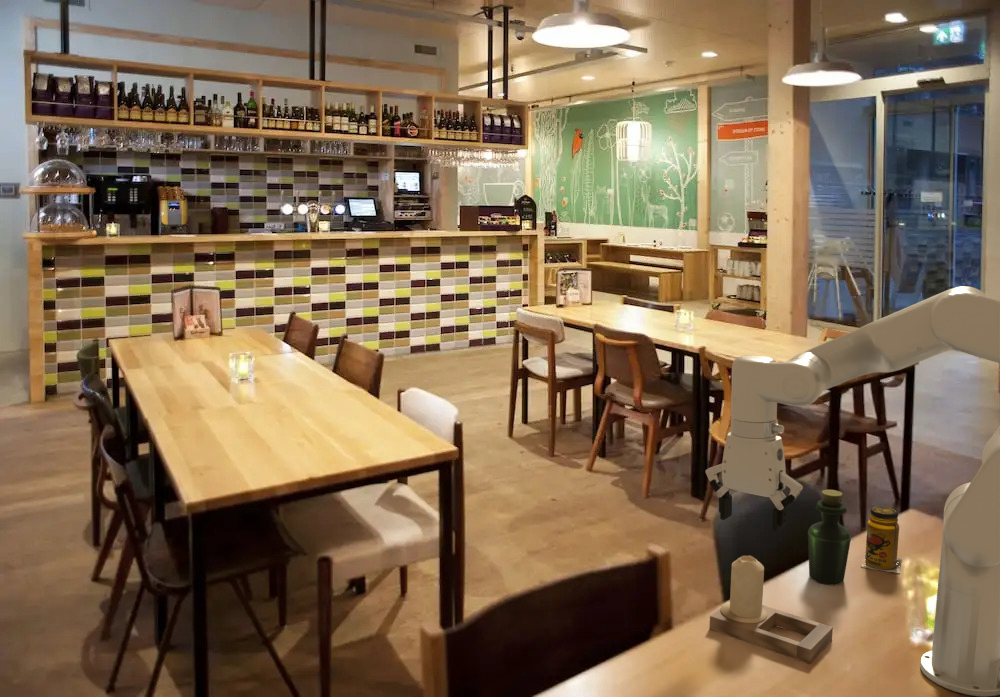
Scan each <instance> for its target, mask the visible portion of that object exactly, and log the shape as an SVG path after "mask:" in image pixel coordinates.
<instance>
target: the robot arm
mask: <svg viewBox="0 0 1000 697" xmlns="http://www.w3.org/2000/svg"><path fill="white" fill-rule="evenodd" d="M952 350H956V351H959V352H962V353H965V354H966V355H967V354H968V355H970V356H974V357H977V358H980V359H983V360H986V361H991V362H994V363H998V364H1000V300H998V299H995V298H992V297H989V296H987V295H986V294H985V292H983V291H982V290H980V289H978V288H976V287H972V286H969V285H968V286H964V285H963V286H956V287H953V288H950V289H947V290H944V291H942V292H939V293H938V294H935V295H932V296H930V297H928V298H926V299H923V300H921V301H919V302H916V303H914V304H912V305H909V306H907V307H905V308H902V309H900V310H898V311H895V312H893V313H890V314H889V315H887V316H884V317H881V318H879V319H876V320H874V321H872V322H869V323H866V324H865V325H863V326H860V327H859V328H857V329H855V330H853V331H851V332H848V333H846V334H842V335H840V336H838V337H836V338H833V339H831V340H829V341H826V342H824V343H821V344H820V345H819V344H818V345H817V346H814V347H812V348H810V349H808V350H805V351H803V352H800V353H798V354H797V355H794V356H793V357H792V358H791V359H789V360H786V361H785V362H784V361H783V362H782V361H781V362H779V361H778V362H777V361H776V360H775V359H774V358H772V357H770V356H764V355H742V356H741V355H740V356H739V357H737V358H735V359H734V360H733V362H732V364H731V392H730V393H731V398H730V399H731V400H730V401H731V404H730V406H731V407H730V409H731V410H730V413H731V414H730V432H728V433H727V435H726V439H725V444H724V449H723V455H722V463H720V464H716V465H714V466H711V467H708V468H707V469H705V474H706V477H707V478H708V481H709V486H711V488H712V489H713V490H714V492H715V496H716V497H717V498H718V513H719V516H720V520H721V521H724V520H727V519H728V518H730V517H732V514H733V495H732V493H730V492H731V491H736V492H741V493H745V494H751V495H755V496H760V497H765V498H766V497H767V498H769V499H770V500H771V502H772V503H773V504H774V506H775V508H774V509H772V531H773V532H774V533H778V532H780V531H781V530H782V529H784V527H786V524H787V508H788V506H790V505H791V504H792V503H793V502H795V501H796V500H797V499H798V497H799V496H800V494H801V492H802V491H803V489H804V486H803V485H802V484H801V483H800V482H798V481H797V480H796V479H794V478H793V477H791V476H789V475H788V474H787V472H786V470H787V469H786V458H785V450H784V444H783V439H782V437H781V436H780V435H778V434H784V433H785V425H782V424H779V420H778V419H777V414H778V413H777V412H778V404H782V405H787V406H790V407H791V406H792V407H806V406H809V405H811V404H813V403H814V402H816V401H818V398H820V396H821V395H822V393H823V392H824V391H826V390H829V389H831V388H834V387H836V386H838V385H841V384H843V383H845V382H849V381H851V380H854V379H856V378H859V377H863V376H865V375H869V374H875V373H892V372H896V371H900V370H903V369H905V368H908V367H910V366H912V365H916V364H918V363H920V362H922V361H925V360H928V359H930V358H933V357H935V356H938V355H940V354H943V353H945V352H948V351H952ZM982 450H983V451H982V457H981V461H982V462H981V465H980V467H979V469H978V471H977V473H976V474H975V475H974V477H973V478H972V480H971V481H970V482H966V483H964V484H961V485H959V486H957V487H956V488H955V489H954V490H952V492H951V493H950V494H949V496H948V497H947V498H946V501H945V504H944V508H943V519H942V520H943V522H942V525H943V527H942V538H941V540H942V541H941V552H940V561H939V562H940V563H939V572H938V581H937V594H936V601H935V602H936V604H935V612H934V614H935V616H934V625H933V634H932V636H933V637H932V647H931V650H929V651H927V652H925V653H924V654H922V656H921V657H920V661H919V665H920V666H919V668H920V669H921V671H922V673H923V675H925V676H926V677H927V678H928V679H929V680H931V681H932V682H934V683H935V684H937V685H939V686H940V687H942V688H945V689H947V690H949V691H952V692H955V693H960V694H962V695H968V696H974V697H996V696H999V695H1000V425H998V427H997V429H996V430H995V432H994V433H993V434H992V436H991V437H990V438H989V439H988V441H987V442H986V444H985V445H984V448H983V449H982ZM719 473H721V480H720V479H719V477H718V474H719ZM786 487H787V488H789V490H790V491H789V494H788V495H787V496H786V494H785V493H784V492H783V491H784V490H785V489H786Z"/></svg>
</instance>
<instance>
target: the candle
mask: <svg viewBox="0 0 1000 697" xmlns="http://www.w3.org/2000/svg"><path fill="white" fill-rule="evenodd" d="M730 572H731V573H730V574H731V575H730V591H729V592H730V595H729V601H730V611H731V613H733V614H734V615H736V616H739V617H742V618H757V617H759V616H760V615H761V613H762V605H763V595H764V580H765V579H764V578H765V577H764V576H765V567H764V565H763V564H762V563H761V562H760V561H758V559H757V558H755V557H754V556H753V555H742V556H740V557H738V558H737V559H736V560H734V561H733V562H732V563H731V571H730Z"/></svg>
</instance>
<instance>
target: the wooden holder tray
mask: <svg viewBox="0 0 1000 697" xmlns="http://www.w3.org/2000/svg"><path fill="white" fill-rule="evenodd" d="M774 627H777V628H781V629H784V630H786V631H790V632H793V633H796V634H799V635H803V636H805V637H804V638H803V639H802V640H801V641H799V640H795V639H791V638H789V637H785V636H782V635H780V634H776V633H773V632H770V631H771V630H772V628H774ZM709 630H712V631H715V632H717V633H720V634H722V635H726V636H728V637H731V638H734V639H736V640H739V641H743V642H745V643H749V644H752V645H754V646H757V647H760V648H763V649H766V650H769V651H771V652H774V653H777V654H780V655H783V656H786V657H789V658H791V659H794V660H797V661H800V662H803V663H806V664H809V665H810V664H811V663H812V662H814V660H815V659H816V658H817V657H818V656H819V655H820V654H821V653H822V651H823V650H825V648H827V647H828V646H829V645H830V644H831V643H832V641H833V634H834V632H833V630H834V627H833V626H830V625H827V624H823V623H820V622H817V621H814V620H811V619H807V618H805V617H802V616H798V615H794V614H793V613H792V614H791V613H789V612H785V611H782V610H780V609H776V608H773V607H770V606H766V605H763V604H762V613H761V615H760V616H759V617H757V618H742V617H739V616H736V615H734V614H733V613H731V611H730V600H729V601H727V602H725V603H723V604H721V606H720V608H718V609H717V610H716V611H714V612H712V614H710V616H709Z"/></svg>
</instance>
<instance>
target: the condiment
mask: <svg viewBox="0 0 1000 697" xmlns="http://www.w3.org/2000/svg"><path fill="white" fill-rule="evenodd" d="M898 518H899V512H898V511H897V510H896V509H894V508H892V507H887V506H872V507H871V508H870V514H869V520H868V521H867V526H866V539H865V540H866V541H865V542H866V544H865V551H864V554H863V558H862V560H863V559H866V560H865V563H866V564H862V563H861V565H860V567H862V568H866V569H871V570H875V571H880V572H881V571H882V572H888V573H889V572H890V573H895V574H900V571H901V566H902V560H903V559H902V557H898V550H899V549H898V548H899V538H900V537H899V534H900V525H899V523H898V521H899V519H898ZM865 553H866V554H865ZM864 557H865V558H864ZM897 559H898V560H897ZM897 562H899V563H897ZM896 563H897V564H898V565H896ZM864 565H866V566H865V567H864ZM899 566H900V567H899Z"/></svg>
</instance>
